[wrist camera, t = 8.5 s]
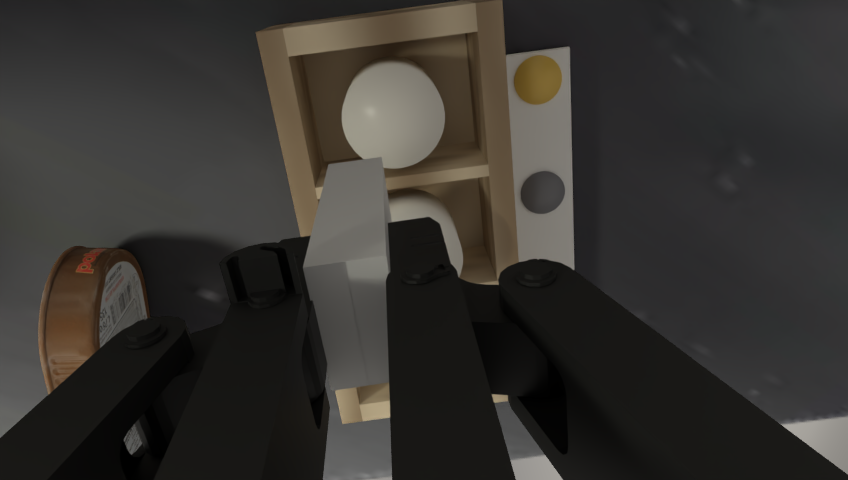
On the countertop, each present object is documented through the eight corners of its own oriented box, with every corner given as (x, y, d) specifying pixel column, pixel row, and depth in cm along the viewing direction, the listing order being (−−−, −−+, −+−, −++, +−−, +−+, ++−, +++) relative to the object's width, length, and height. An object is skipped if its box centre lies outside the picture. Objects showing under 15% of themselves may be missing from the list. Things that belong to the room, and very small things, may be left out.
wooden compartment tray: (347, 373, 40) (342, 423, 35) (274, 25, 31) (255, 32, 26) (510, 350, 40) (527, 398, 35) (484, -3, 31) (502, -1, 26)
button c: (354, 154, 32) (351, 174, 29) (338, 62, 30) (333, 72, 27) (442, 142, 32) (449, 161, 29) (432, 50, 30) (438, 58, 27)
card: (518, 310, 38) (520, 314, 38) (501, 55, 32) (503, 56, 32) (573, 302, 38) (575, 306, 38) (567, 46, 32) (570, 47, 32)
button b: (372, 277, 33) (371, 311, 29) (358, 195, 31) (355, 222, 27) (458, 265, 33) (467, 298, 29) (449, 183, 31) (457, 208, 27)
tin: (92, 222, 34) (8, 291, 27) (148, 224, 35) (81, 293, 27) (128, 428, 40) (67, 533, 33) (175, 429, 41) (127, 533, 33)
